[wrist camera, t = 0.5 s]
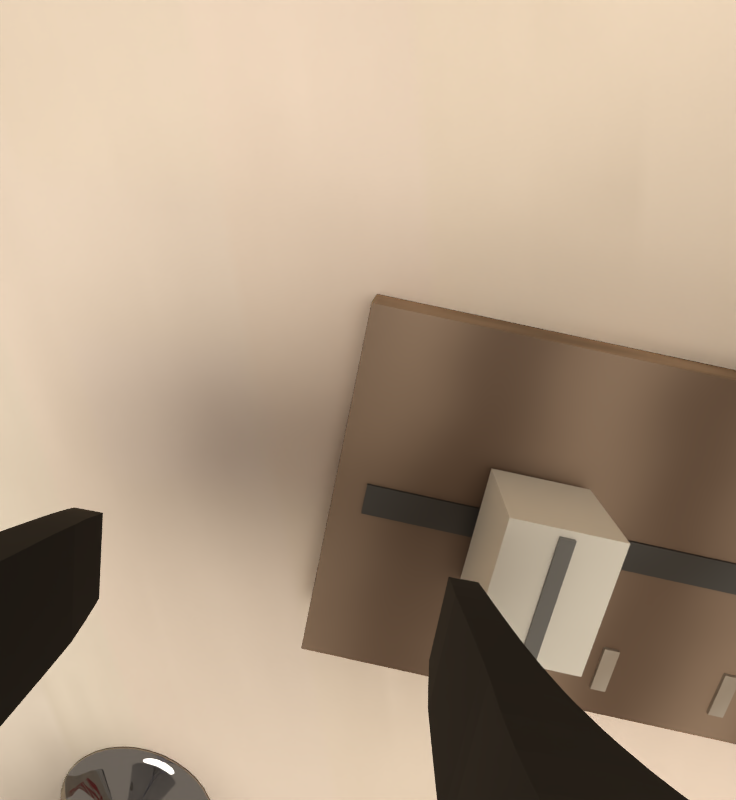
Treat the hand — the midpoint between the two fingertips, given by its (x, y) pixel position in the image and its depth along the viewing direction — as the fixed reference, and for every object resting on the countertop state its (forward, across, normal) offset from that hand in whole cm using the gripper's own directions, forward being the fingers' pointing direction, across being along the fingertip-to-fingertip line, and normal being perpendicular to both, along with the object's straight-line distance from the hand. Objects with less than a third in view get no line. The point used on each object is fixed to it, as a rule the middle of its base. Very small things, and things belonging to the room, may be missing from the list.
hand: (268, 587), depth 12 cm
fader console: (+9, -12, +1) cm, 15 cm away
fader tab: (+6, -7, +1) cm, 9 cm away
